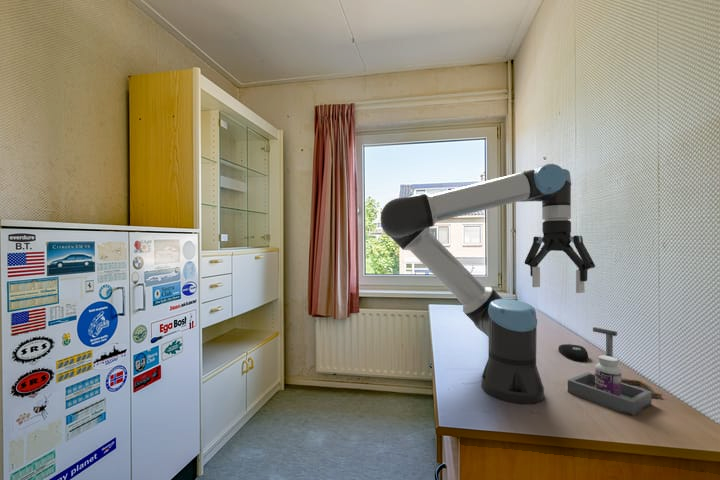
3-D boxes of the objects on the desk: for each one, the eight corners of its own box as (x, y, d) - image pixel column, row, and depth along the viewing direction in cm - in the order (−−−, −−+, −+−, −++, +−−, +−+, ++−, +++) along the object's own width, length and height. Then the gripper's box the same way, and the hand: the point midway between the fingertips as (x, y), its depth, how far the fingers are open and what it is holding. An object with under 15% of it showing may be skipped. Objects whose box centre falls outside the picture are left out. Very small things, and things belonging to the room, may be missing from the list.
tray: (632, 416, 74) (632, 402, 74) (567, 391, 86) (567, 380, 86) (651, 404, 79) (651, 391, 79) (587, 382, 91) (587, 372, 91)
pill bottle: (590, 392, 84) (590, 355, 84) (603, 389, 86) (603, 353, 86) (612, 401, 79) (612, 362, 79) (626, 398, 81) (626, 360, 81)
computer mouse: (568, 361, 109) (568, 349, 109) (556, 350, 121) (556, 339, 121) (593, 363, 107) (593, 351, 107) (578, 352, 119) (578, 341, 119)
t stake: (614, 377, 95) (614, 333, 95) (590, 370, 101) (590, 328, 101) (621, 374, 97) (621, 331, 98) (597, 367, 103) (597, 326, 103)
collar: (661, 398, 83) (661, 394, 83) (622, 394, 85) (622, 390, 85) (641, 384, 91) (641, 380, 91) (606, 380, 93) (606, 377, 93)
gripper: (609, 217, 89) (610, 294, 89) (527, 223, 111) (528, 284, 111) (593, 216, 86) (594, 296, 85) (512, 222, 108) (513, 285, 108)
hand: (556, 289), depth 98 cm, fingers open, 13 cm apart
